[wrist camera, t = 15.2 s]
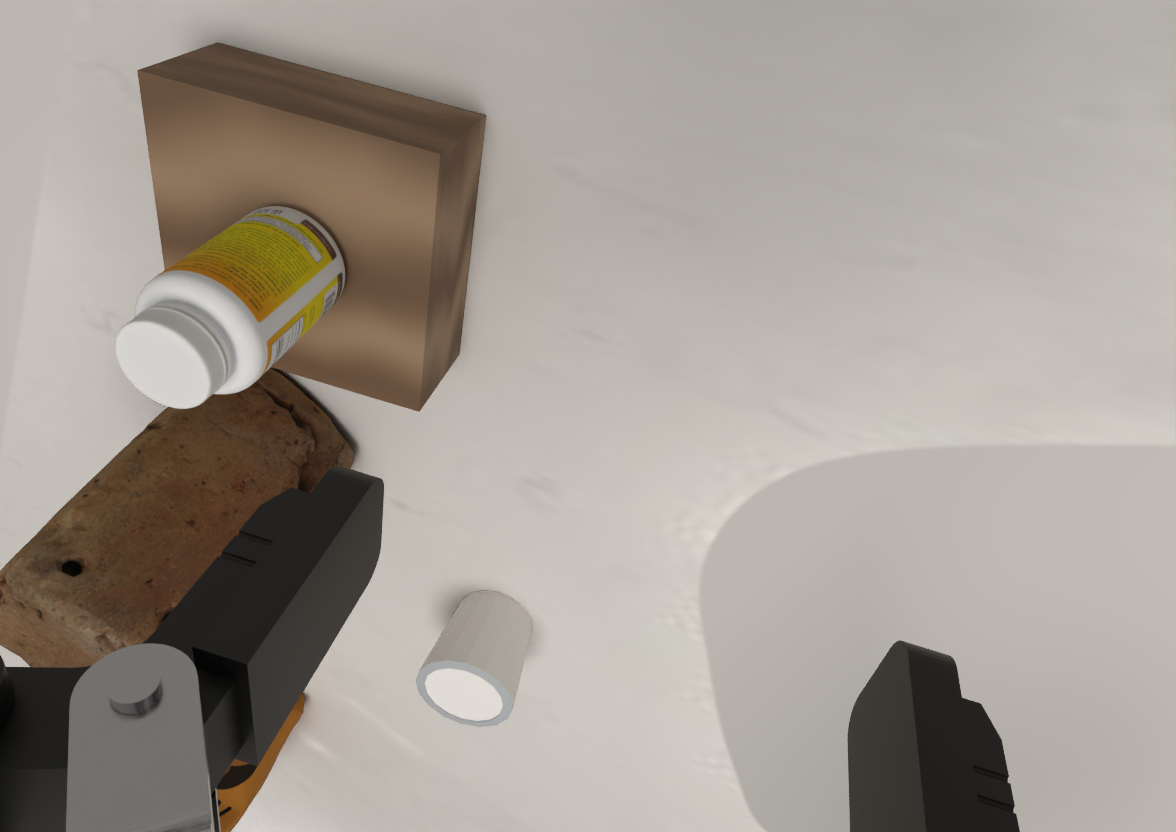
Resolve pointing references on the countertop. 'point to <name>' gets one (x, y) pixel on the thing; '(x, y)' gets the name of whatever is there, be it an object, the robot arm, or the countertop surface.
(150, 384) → the supplement bottle
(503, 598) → the white cylinder
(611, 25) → the countertop surface
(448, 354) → the walnut riser
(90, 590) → the block
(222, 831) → the coffee package
